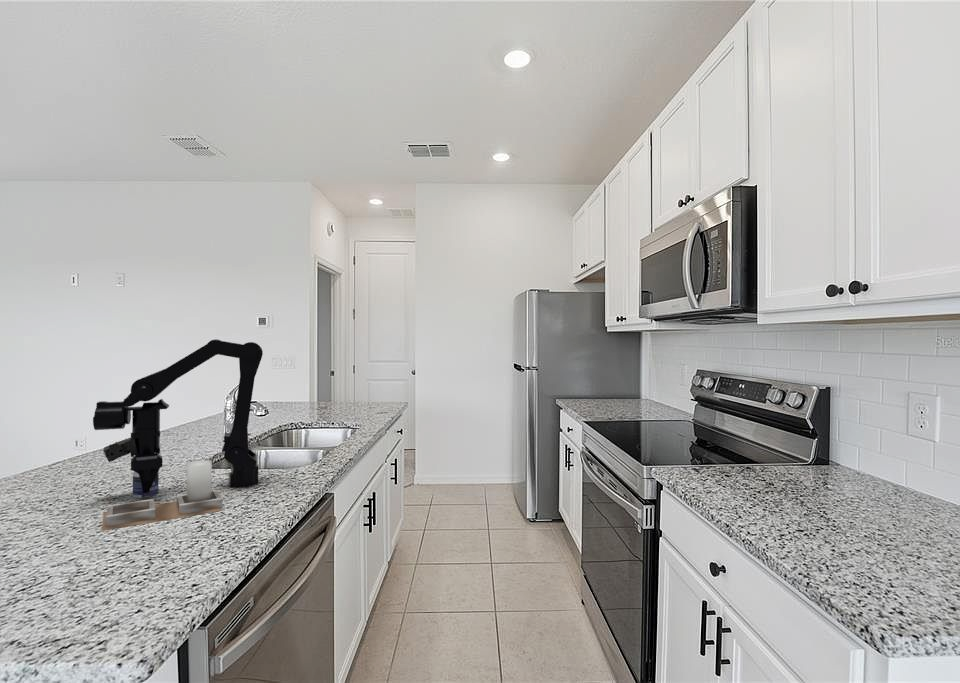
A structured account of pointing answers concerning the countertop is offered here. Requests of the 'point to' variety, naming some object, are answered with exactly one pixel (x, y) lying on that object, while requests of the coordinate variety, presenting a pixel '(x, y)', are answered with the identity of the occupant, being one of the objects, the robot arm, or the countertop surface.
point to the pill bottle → (138, 487)
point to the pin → (199, 481)
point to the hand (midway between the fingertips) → (145, 489)
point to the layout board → (157, 511)
